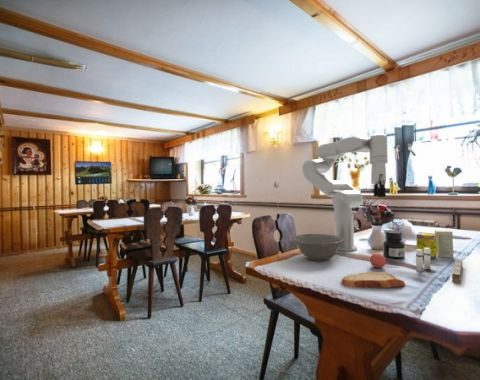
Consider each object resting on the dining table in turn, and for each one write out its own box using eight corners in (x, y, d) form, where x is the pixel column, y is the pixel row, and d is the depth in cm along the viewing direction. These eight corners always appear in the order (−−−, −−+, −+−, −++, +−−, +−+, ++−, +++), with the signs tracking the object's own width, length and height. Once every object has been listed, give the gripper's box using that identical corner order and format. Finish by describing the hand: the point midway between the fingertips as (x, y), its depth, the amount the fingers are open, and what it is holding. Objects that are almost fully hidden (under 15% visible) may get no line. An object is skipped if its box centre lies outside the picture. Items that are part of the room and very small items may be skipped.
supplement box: (429, 259, 123) (429, 236, 123) (416, 256, 128) (415, 234, 128) (437, 257, 126) (436, 234, 126) (423, 255, 131) (423, 232, 131)
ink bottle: (392, 260, 124) (392, 234, 124) (378, 255, 132) (378, 231, 132) (410, 258, 126) (409, 232, 126) (395, 253, 135) (394, 229, 134)
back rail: (459, 283, 94) (459, 274, 94) (452, 282, 96) (452, 273, 96) (462, 266, 112) (462, 259, 112) (455, 265, 114) (455, 258, 114)
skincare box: (451, 255, 129) (450, 230, 128) (453, 258, 125) (453, 231, 124) (434, 254, 131) (434, 229, 131) (436, 256, 127) (436, 231, 127)
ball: (370, 269, 112) (370, 254, 112) (369, 264, 118) (369, 251, 118) (387, 270, 110) (386, 255, 110) (384, 266, 116) (384, 252, 115)
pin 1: (417, 271, 108) (416, 250, 108) (415, 269, 110) (415, 248, 110) (423, 271, 107) (423, 250, 107) (422, 270, 109) (421, 249, 109)
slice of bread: (336, 285, 97) (336, 275, 96) (357, 273, 109) (357, 264, 109) (392, 300, 84) (391, 288, 84) (408, 284, 96) (408, 273, 96)
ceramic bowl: (284, 260, 128) (284, 239, 128) (308, 250, 145) (308, 232, 145) (329, 269, 113) (329, 245, 113) (350, 257, 130) (350, 236, 130)
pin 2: (424, 269, 110) (424, 248, 110) (423, 267, 112) (423, 247, 112) (431, 270, 109) (431, 249, 109) (429, 268, 111) (429, 247, 111)
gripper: (366, 162, 138) (367, 195, 138) (373, 159, 122) (374, 197, 122) (383, 161, 136) (384, 195, 136) (392, 158, 119) (392, 197, 120)
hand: (379, 196), depth 129 cm, fingers open, 9 cm apart
